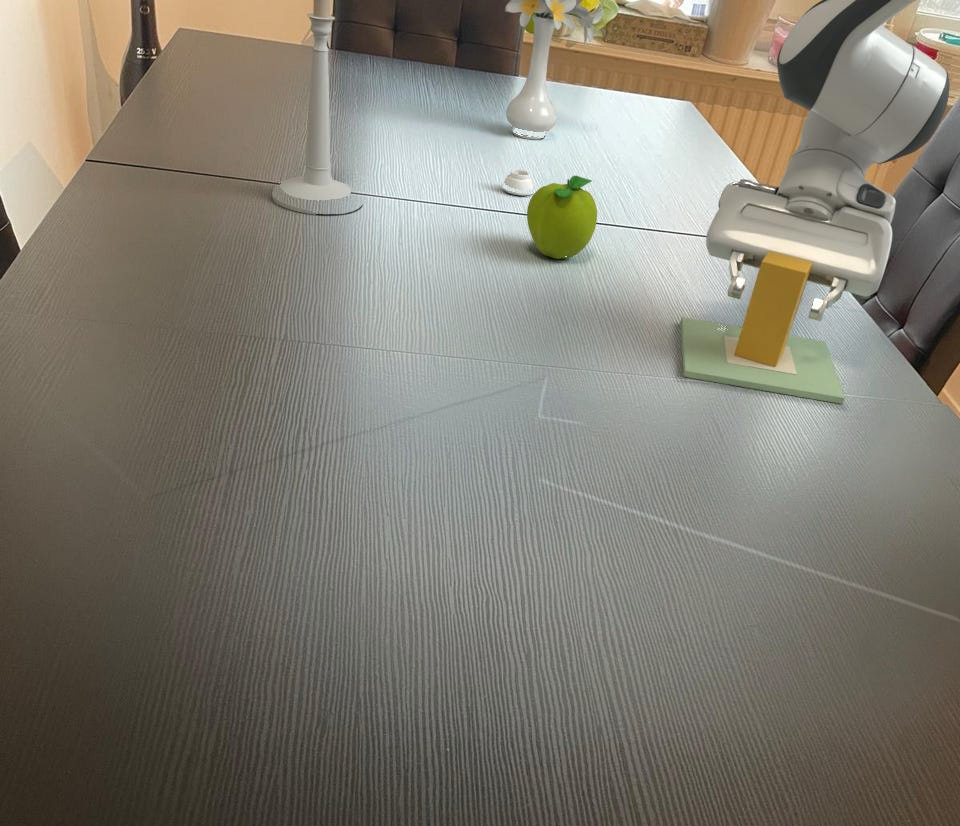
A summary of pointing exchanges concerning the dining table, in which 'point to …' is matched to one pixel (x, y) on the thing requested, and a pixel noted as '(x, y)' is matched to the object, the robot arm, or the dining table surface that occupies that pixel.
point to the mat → (795, 374)
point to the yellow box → (772, 308)
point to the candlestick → (317, 124)
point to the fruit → (562, 218)
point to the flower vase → (544, 58)
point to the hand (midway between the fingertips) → (773, 306)
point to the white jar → (519, 182)
